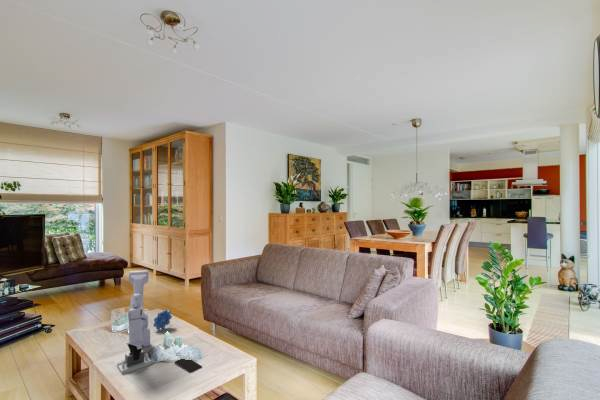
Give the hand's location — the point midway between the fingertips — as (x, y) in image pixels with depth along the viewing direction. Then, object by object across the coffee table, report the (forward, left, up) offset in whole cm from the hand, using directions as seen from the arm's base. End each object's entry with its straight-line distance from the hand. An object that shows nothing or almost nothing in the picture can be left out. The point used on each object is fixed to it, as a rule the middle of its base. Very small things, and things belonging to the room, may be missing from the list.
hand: (135, 358), depth 159 cm
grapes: (-27, -38, -4) cm, 47 cm away
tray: (0, 0, -4) cm, 4 cm away
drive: (0, 0, -2) cm, 2 cm away
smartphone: (-20, +18, -4) cm, 27 cm away
